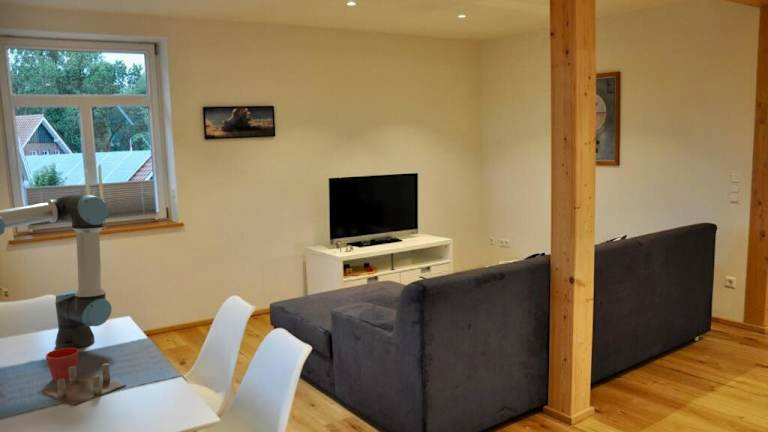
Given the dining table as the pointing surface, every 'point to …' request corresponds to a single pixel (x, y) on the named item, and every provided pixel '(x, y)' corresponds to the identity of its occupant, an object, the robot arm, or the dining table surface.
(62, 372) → the flower pot
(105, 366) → the plant stand
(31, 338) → the dining table surface
